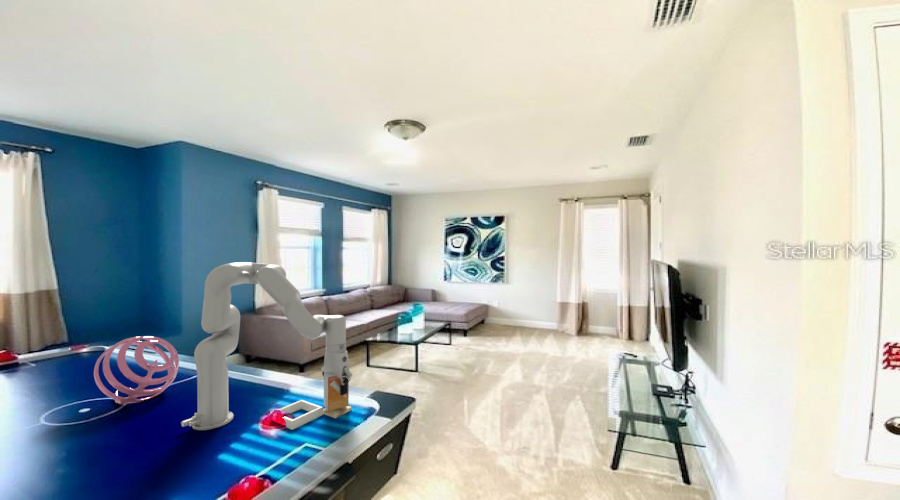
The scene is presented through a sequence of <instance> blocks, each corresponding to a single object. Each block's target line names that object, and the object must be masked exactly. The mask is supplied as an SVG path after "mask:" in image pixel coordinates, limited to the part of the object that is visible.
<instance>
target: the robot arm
mask: <svg viewBox="0 0 900 500" xmlns="http://www.w3.org/2000/svg"><path fill="white" fill-rule="evenodd" d="M243 284H254V285H259V286H260V287H261V288H262V290H263V291H265V292H266V293H267V295H268V296H269V297H271V298H272V299H273V301H274V302H275V303H276V304H277V305H278V306H279V307H280V308H281V311H282V312H283V315H284V316H285V317H286V319H287V320H288V321H287V322H288V323H290V324H291V326H292V327H293V328H294V329H295V330H296V331H297V332H298V333H299V334H300V335H301V336H302V337H304V338H306V339H308V340H314V339H317V338H319V337H320V336H321V335H322V334H324V333H325V352H324V359H323V365H322V366H321V367H320V370H321V375H322V376H323V377H324V373H329V374H332V375H335V376H336V378H338V379H339V380H340V382H341V384H342V385H340V395H344V394H346V393H348V383H350V381H351V379H352V377H353V373H352V372H351V371H350V360H349V359H350V358H349V353H348V350H347V319H346V316H344V315H342V314H333V315H325V314H314V315H312V313H310V311H309V310H308V309H307V308H306V307H305V304H304V303H303V301H302V297H301V293H300V291H299V290H298V288H297V287H296V286H294V285H293V284H292V283H291V281H290V280H289V279H287V273H286V270H285V269H284V267H282V266H281V265H279V264H270V263H260V262H259V263H258V262H250V261H249V262H248V261H242V262H241V261H239V262H237V261H236V262H229V263H225V264H222V265H218V266H217V267H214V269H212V270H211V271H210V272H209V273H208V275H207V276H206V279H205V282H204V291H203V292H204V295H203V301H202V302H203V303H202V310H201V312H202V314H201V320H200V321H201V322H200V324H201V329H202V330H203V331H204V332H205V333H207V334H211V335H210V336H208V337H206V338H204V339H202V340H201V341H200V342H199V343H198V344H197V345H196V347H195V349H194V355H193V358H194V363H195V367H196V384H197V385H196V387H197V390H196V391H197V393H196V394H197V400H196V402H197V412H194V415H193V416H192V417H191V418H188V419H184V420H182V421H181V422H180V424H181V425H180V426H181V427H183V428H184V427H186V426H187V427H188V426H189V427H192V429H193V430H195V431H208V430H213V429H216V428H220V427H223V426H225V425H227V424H229V423H230V422H232V420H233V419H234V413H233V412H232V411H230V410H229V407H230V406H229V405H230V404H229V402H230V401H229V367H228V364H227V361H226V357H227V356H229V355H230V354H232V353H234V351H235V350H236V349H237V348H238V344H239V338H240V337H239V336H240V329H241V327H240V326H241V314H240V310H239V309H238V308H237V306H235V305H234V304H231V302H232V291H231V287H234V286H239V285H243ZM343 374H345V375H344V376H342V375H343ZM346 375H347V376H346ZM344 377H345V380H344V381H343V378H344Z"/></svg>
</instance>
